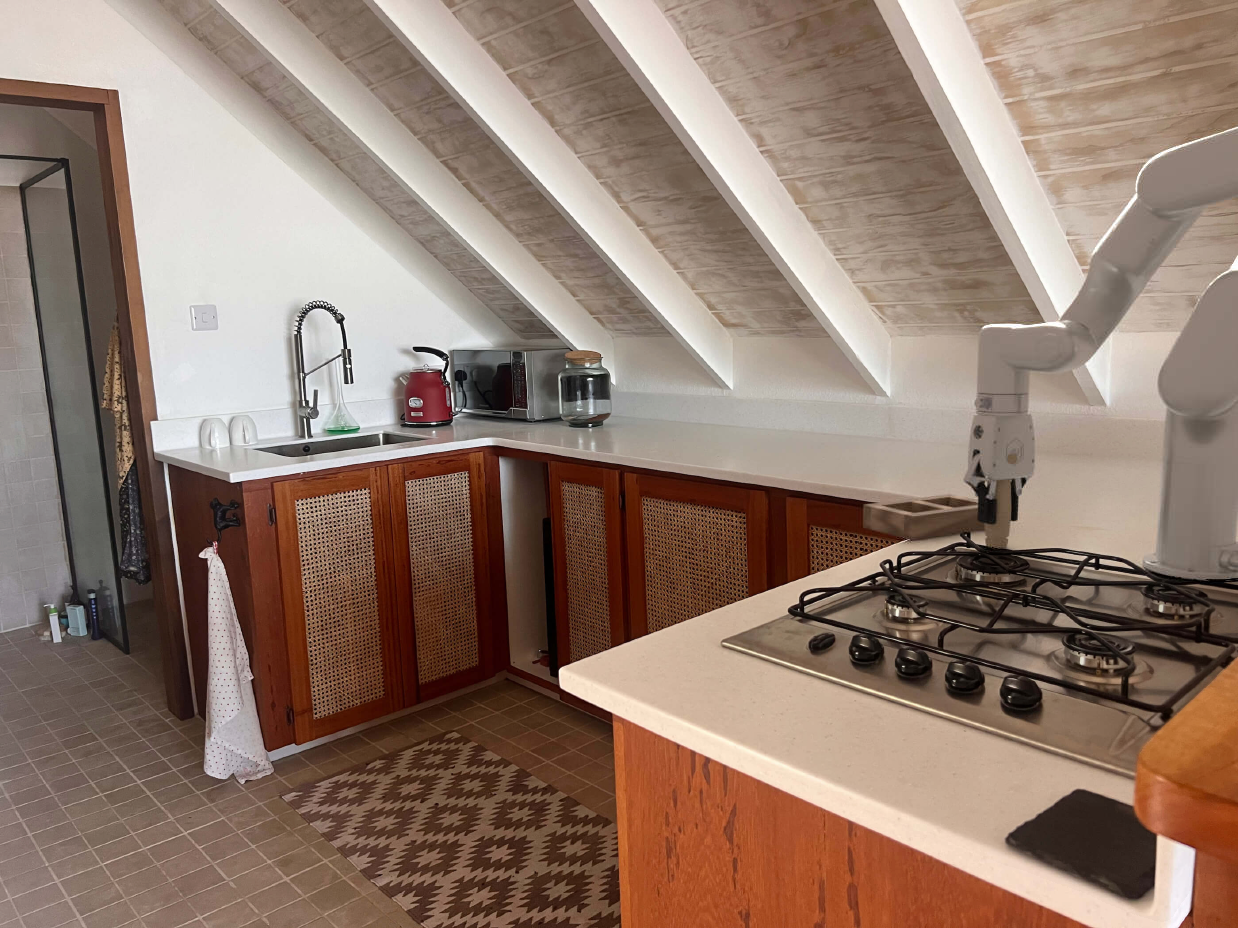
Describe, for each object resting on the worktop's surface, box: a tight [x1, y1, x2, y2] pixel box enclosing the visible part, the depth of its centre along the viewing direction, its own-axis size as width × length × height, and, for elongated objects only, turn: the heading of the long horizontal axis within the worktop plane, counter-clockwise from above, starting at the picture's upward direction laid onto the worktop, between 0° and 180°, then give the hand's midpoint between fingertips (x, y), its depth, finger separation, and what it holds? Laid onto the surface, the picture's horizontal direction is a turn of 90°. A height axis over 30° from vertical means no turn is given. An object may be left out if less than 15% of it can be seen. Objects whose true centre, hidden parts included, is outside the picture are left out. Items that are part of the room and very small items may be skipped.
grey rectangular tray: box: [862, 493, 985, 541], centre depth 166 cm, size 12×20×4 cm, turn 116°
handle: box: [984, 454, 1017, 549], centre depth 150 cm, size 5×6×15 cm
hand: (997, 520), depth 150 cm, fingers closed on handle, 3 cm apart
